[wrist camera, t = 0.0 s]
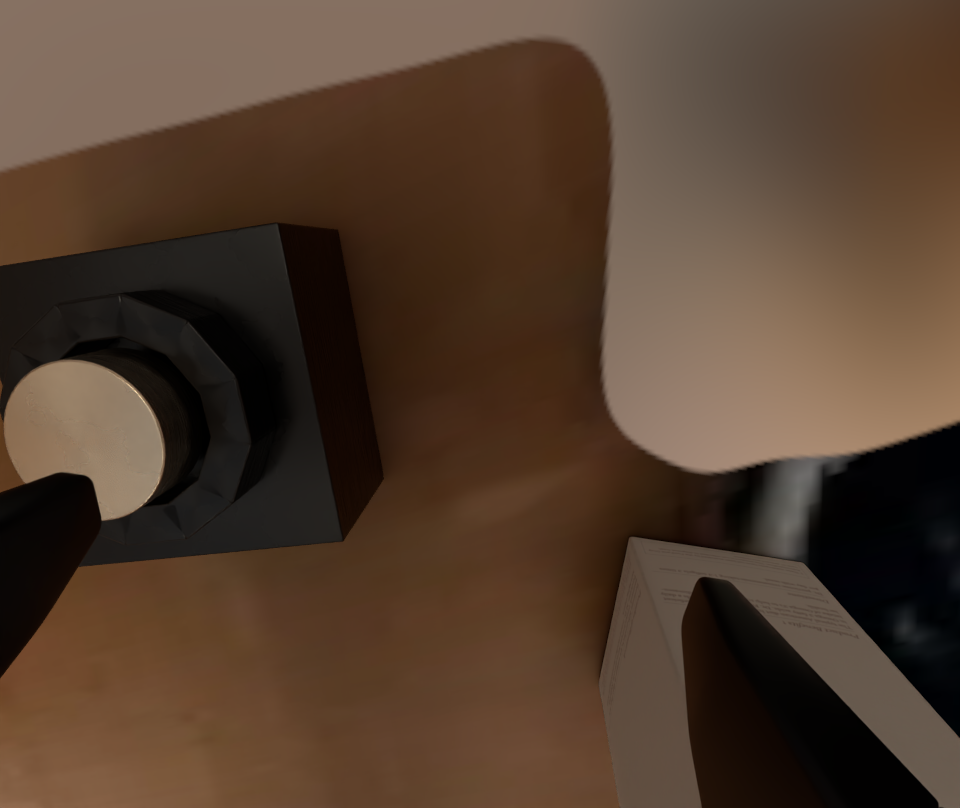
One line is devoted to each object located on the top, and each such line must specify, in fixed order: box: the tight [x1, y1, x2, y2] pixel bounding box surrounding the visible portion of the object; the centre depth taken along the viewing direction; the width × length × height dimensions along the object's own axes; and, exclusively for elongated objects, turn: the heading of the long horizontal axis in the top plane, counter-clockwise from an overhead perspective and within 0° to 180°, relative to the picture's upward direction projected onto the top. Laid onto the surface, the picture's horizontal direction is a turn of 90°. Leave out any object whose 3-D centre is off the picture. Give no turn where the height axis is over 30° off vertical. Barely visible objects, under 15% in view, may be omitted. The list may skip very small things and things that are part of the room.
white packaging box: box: [599, 537, 960, 808], centre depth 20 cm, size 7×7×13 cm
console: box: [0, 223, 384, 567], centre depth 21 cm, size 10×10×8 cm
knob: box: [4, 348, 204, 521], centre depth 17 cm, size 4×4×2 cm
